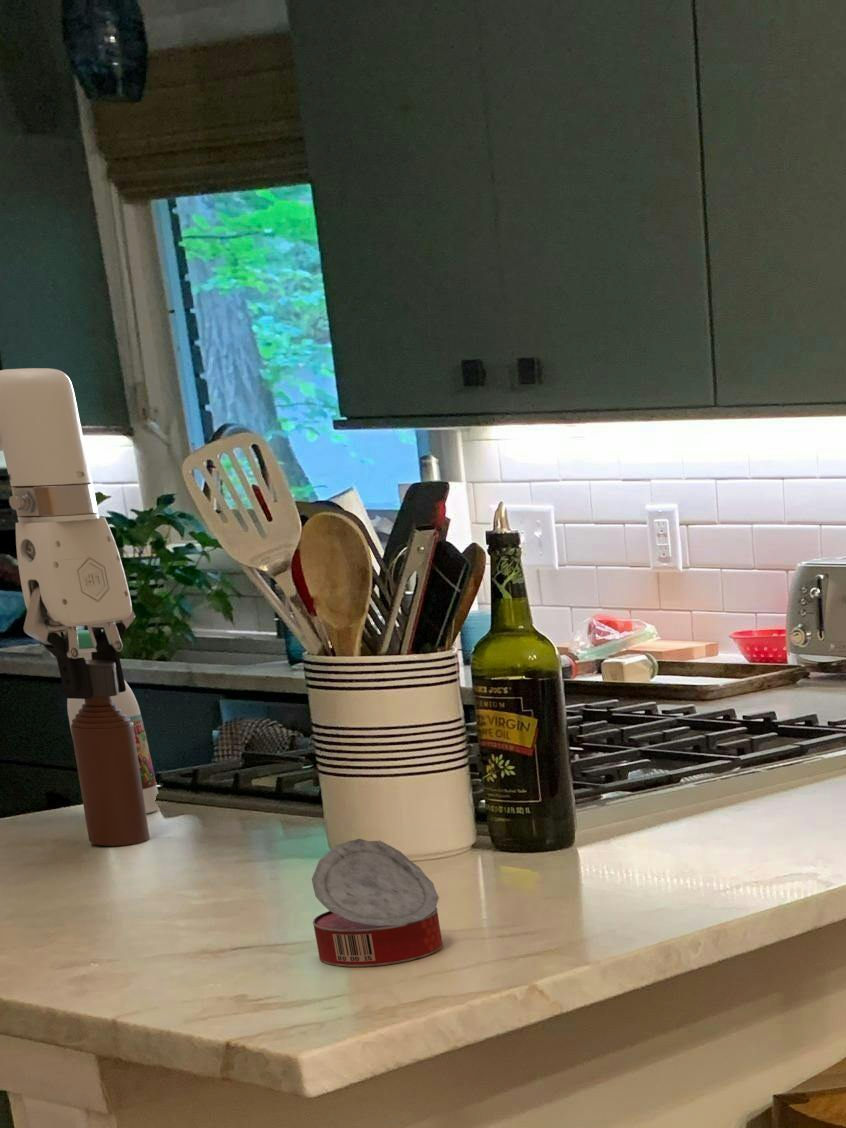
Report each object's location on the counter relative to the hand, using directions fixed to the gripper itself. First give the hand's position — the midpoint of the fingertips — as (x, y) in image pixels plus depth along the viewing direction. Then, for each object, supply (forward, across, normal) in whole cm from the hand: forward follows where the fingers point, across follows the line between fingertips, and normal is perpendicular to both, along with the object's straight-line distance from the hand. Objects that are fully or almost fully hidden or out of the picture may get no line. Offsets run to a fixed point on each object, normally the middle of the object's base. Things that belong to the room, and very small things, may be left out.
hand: (95, 693), depth 200 cm
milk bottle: (+16, +13, +13) cm, 24 cm away
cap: (0, 0, 0) cm, 0 cm away
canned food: (+15, -33, -58) cm, 69 cm away
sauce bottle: (+15, 0, +1) cm, 15 cm away
